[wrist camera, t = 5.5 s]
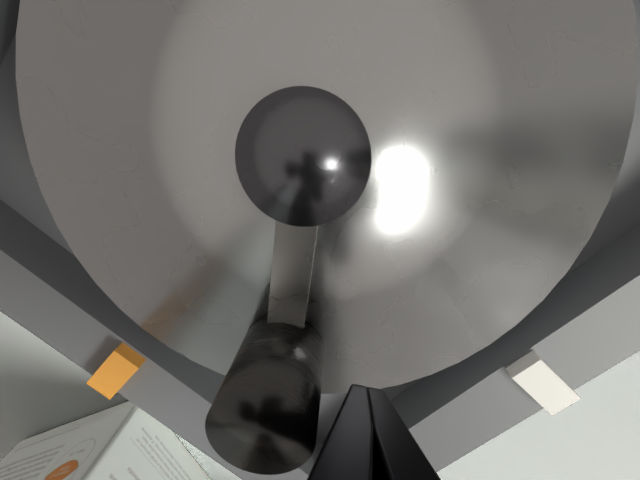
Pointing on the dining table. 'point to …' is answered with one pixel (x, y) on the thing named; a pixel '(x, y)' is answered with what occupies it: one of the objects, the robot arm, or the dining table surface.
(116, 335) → the grey square tray
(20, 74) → the dial
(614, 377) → the dining table surface
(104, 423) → the small box
